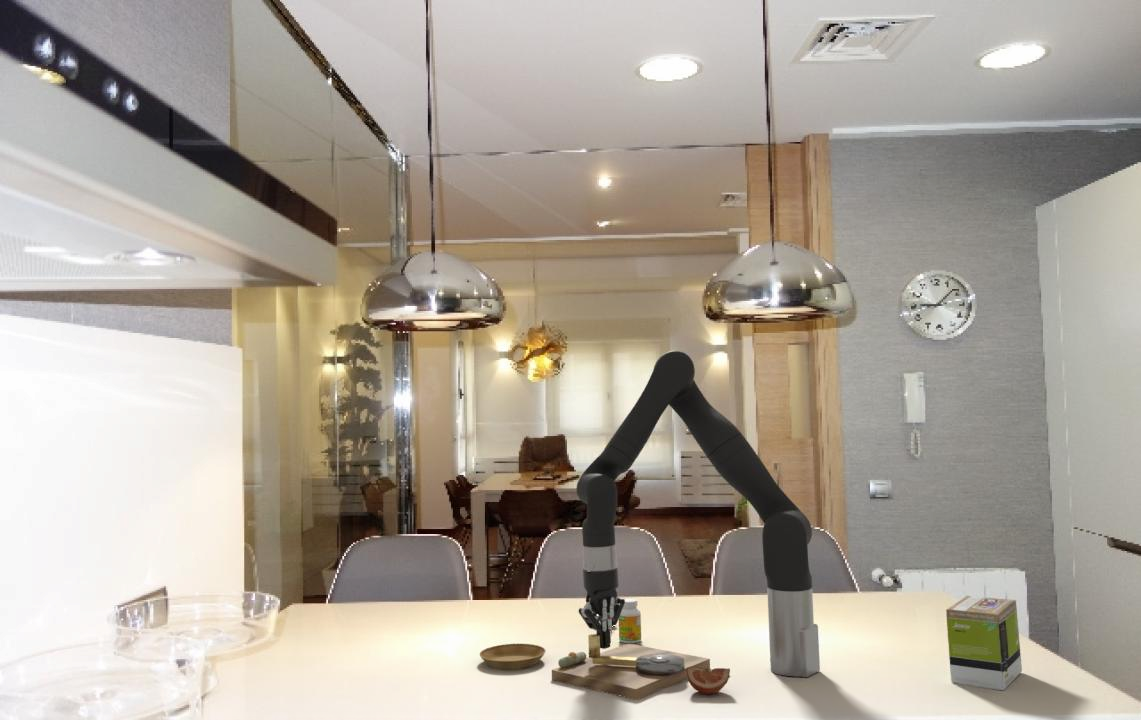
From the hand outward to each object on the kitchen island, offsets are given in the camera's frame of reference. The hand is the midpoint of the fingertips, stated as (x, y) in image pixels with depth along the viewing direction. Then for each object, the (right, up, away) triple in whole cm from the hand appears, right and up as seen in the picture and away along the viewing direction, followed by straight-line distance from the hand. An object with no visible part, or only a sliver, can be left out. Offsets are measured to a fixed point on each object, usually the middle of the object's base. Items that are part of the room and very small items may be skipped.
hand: (604, 647), depth 188 cm
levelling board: (+6, -4, -3) cm, 8 cm away
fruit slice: (+20, -3, -18) cm, 27 cm away
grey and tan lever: (+6, -2, -6) cm, 9 cm away
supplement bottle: (+7, -6, +24) cm, 26 cm away
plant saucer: (-20, -6, +8) cm, 23 cm away
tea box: (+76, -2, -13) cm, 77 cm away
